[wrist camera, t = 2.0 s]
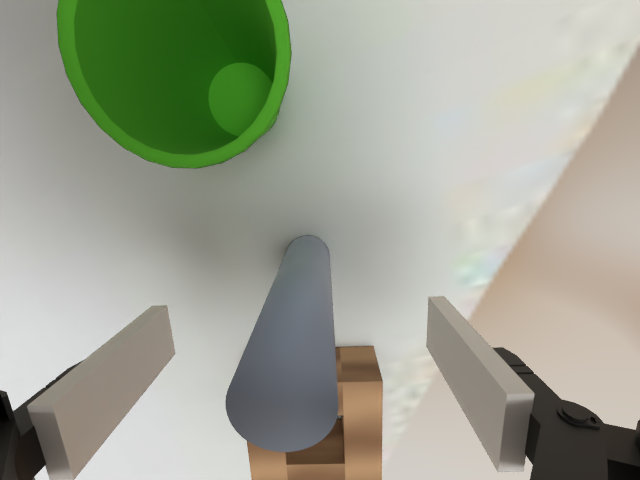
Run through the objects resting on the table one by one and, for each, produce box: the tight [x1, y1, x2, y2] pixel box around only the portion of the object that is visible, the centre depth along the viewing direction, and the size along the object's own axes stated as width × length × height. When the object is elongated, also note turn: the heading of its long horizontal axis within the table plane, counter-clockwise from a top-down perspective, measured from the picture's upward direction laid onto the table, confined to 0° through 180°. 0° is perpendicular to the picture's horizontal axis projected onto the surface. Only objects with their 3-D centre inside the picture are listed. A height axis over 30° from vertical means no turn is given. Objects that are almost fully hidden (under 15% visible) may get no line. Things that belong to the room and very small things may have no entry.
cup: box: [57, 0, 291, 168], centre depth 17 cm, size 9×9×11 cm
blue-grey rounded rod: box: [226, 235, 339, 452], centre depth 17 cm, size 4×4×16 cm
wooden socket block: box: [247, 346, 383, 480], centre depth 26 cm, size 11×11×4 cm
